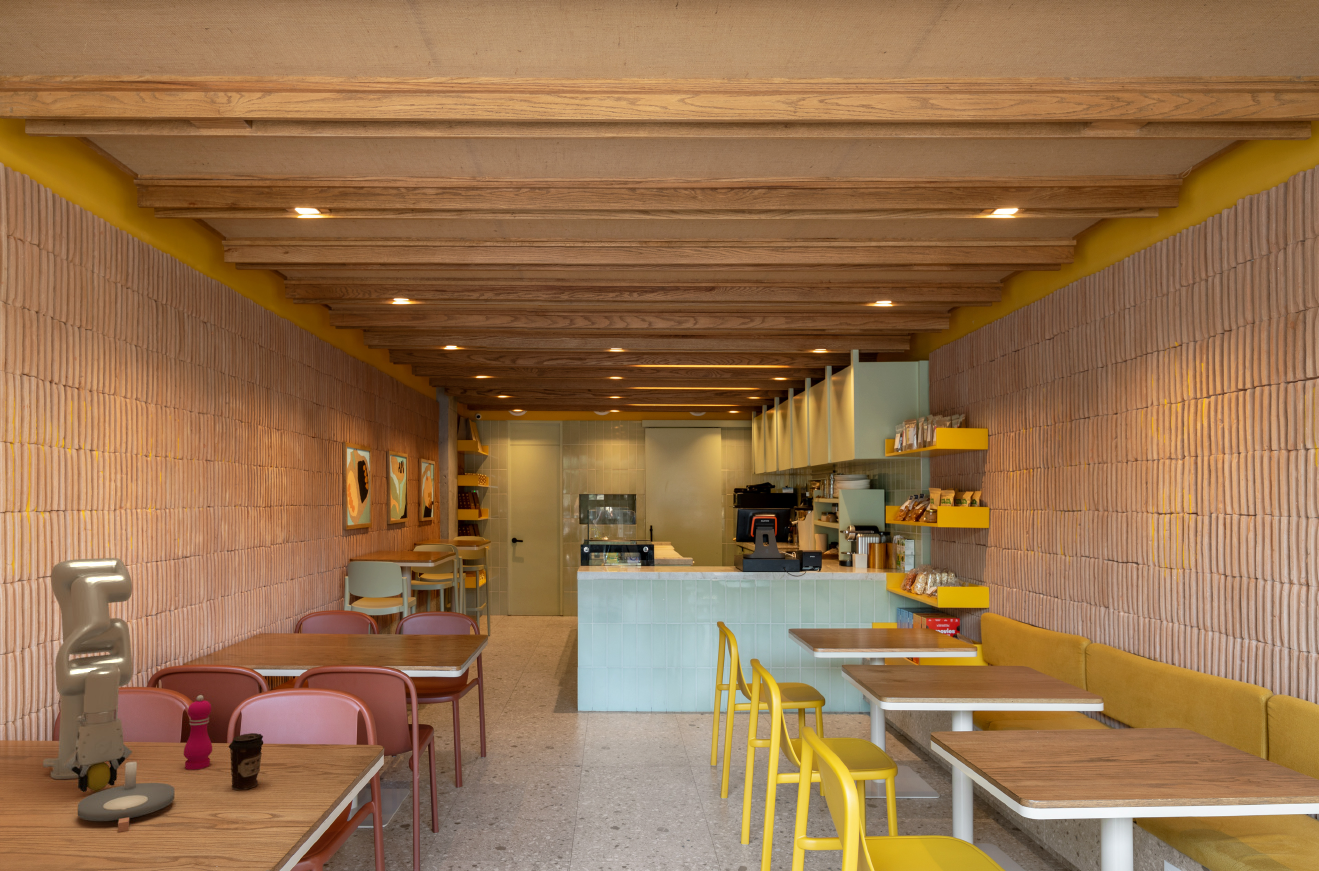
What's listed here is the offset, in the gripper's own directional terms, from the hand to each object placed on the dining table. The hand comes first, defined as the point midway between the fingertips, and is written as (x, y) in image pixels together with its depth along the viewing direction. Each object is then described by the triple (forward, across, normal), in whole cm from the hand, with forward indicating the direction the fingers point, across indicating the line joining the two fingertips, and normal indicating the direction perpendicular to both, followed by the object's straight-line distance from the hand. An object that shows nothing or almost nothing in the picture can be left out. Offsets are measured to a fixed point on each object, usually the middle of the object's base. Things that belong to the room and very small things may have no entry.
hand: (97, 786), depth 217 cm
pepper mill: (+1, +25, +2) cm, 26 cm away
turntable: (0, 0, -21) cm, 21 cm away
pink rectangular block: (+1, -4, -33) cm, 33 cm away
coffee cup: (+2, +27, -25) cm, 37 cm away
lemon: (+1, 0, 0) cm, 1 cm away
